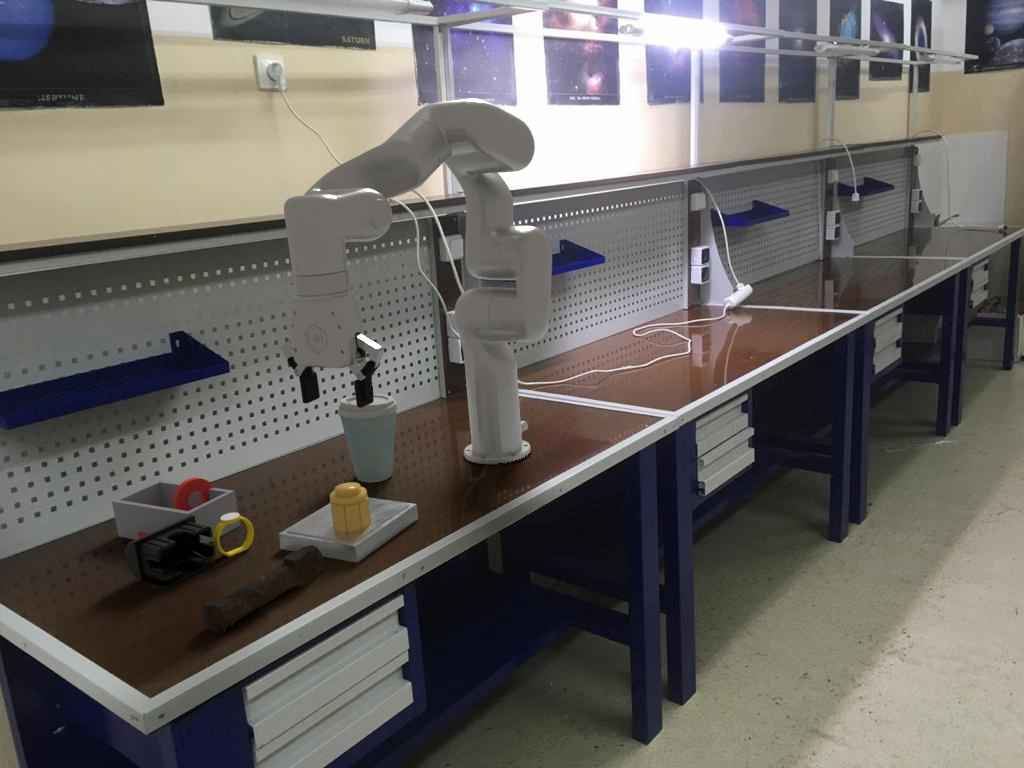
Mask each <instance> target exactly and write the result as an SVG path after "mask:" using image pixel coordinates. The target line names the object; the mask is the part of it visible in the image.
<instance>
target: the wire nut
mask: <svg viewBox="0 0 1024 768" xmlns="http://www.w3.org/2000/svg"><path fill="white" fill-rule="evenodd" d="M368 498H369V496H368V491H367V488H365V487H363V486H361V484H360V483H358V482H353V481H352V482H351V481H350V482H345V483H340V484H337V485H336V486H335V487H334V490H332V492H330V493H329V503H330V505H331V513H332V520H333V526H334V529H335V530H336V531H342V532H347V531H348V532H351V531H357V530H362V529H364V528H365V527H367V526H368V525H370V524H371V518H370V509H369V501H368Z"/></svg>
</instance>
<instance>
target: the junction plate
mask: <svg viewBox="0 0 1024 768" xmlns="http://www.w3.org/2000/svg"><path fill="white" fill-rule="evenodd" d="M368 501H369V509H370V518H371V524H370V525H368V526H367V527H365V528H364V529H362V530H357V531H351V532H348V531H347V532H342V531H336V530H335V529H334V526H333V520H332V513H331V505H330V502H328V504H326V505H325V506H323V507H321V508H320V509H317V510H316V511H314V512H313V513H311V514H309V515H307V516H306V517H305V518H303V519H301V520H300V521H297V522H296V523H294V524H293V525H291V526H289V527H287V528H286V529H284V530H283V531H280V532H279V533H278V538H279V545H280V550H284V551H290V552H295V551H297V550H300V549H301V548H302V547H305V546H310V545H314V546H316V547H318V549H319V550H320V552H321V554H322V555H323V558H329V559H335V560H339V561H344V562H350V563H357V564H358V563H359V562H361V561H362V560H363V559H365V558H366V557H368V556H369V555H371V554H372V553H373V552H374V551H376V550H377V549H379V548H380V547H381V546H383V545H384V544H386V543H387V542H389V541H390V540H391V539H392V538H394V537H395V536H396V535H398V534H399V533H401V532H403V530H405V529H407V528H408V527H409V526H411V525H412V524H413V523H414V522H416V521H417V520H419V515H418V514H419V513H418V505H417V503H411V502H405V501H404V502H403V501H397V500H390V499H389V500H388V499H380V498H375V497H368Z"/></svg>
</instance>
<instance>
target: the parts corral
mask: <svg viewBox="0 0 1024 768" xmlns="http://www.w3.org/2000/svg"><path fill="white" fill-rule="evenodd" d="M181 483H182V482H176V481H168V480H162V479H161V480H160V479H159V480H157V481H155V482H153V483H150V484H148V485H145V486H144V487H141V488H140V489H137V490H134V491H132V492H130V493H128V494H125V495H123V496H121V497H118V498H116V499H114V500H112V501H111V504H112V509H113V514H114V519H115V525H116V529H117V533H118V537H120V538H126V539H131V540H136V539H138V538H139V537H138V532H142V533H148V534H149V533H151V532H154V531H156V530H158V529H160V528H163V527H165V526H167V525H169V524H172V523H174V522H176V521H178V520H181V519H183V518H185V517H187V516H195V521H196V523H197V524H201V525H205V526H209V527H211V530H212V537H206V536H203V535H200V538H201V540H202V541H203V542H206V543H210V544H211V542H213V534H214V531H215V528H216V527H217V525H218V524H219V523H220V522H221V519H220V518H221V517H222V516H223V515H225V514H228V513H239V511H238V506H237V503H238V502H237V498H236V492H235V490H231V489H223V488H220V487H219V488H218V487H214V488H210V489H208V491H209V497H210V501H208V502H206V503H204V504H202V505H200V506H198V507H196V508H194V509H192V510H190V511H183V510H177V509H174V507H173V497H174V493H175V491H176V489H177V488H178V486H179V485H180V484H181ZM201 499H202V495H201V493H200V491H195V492H193V493H192V494H191V495H190V497H189V499H188V503H189V506H190V507H195V506H197V505H198V504H199V503H200V502H201ZM240 526H241V523H240V520H239V521H238V522H236V523H233V524H227V525H226V526H225V527H224V528H223V529H222V532H221V535H220V537H219V538H221V537H222V536H224V535H226V534H228V533H229V532H231V531H233V530H235V529H237V528H238V527H240Z"/></svg>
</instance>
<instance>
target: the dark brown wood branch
mask: <svg viewBox="0 0 1024 768" xmlns="http://www.w3.org/2000/svg"><path fill="white" fill-rule="evenodd" d="M324 569H325V561H324V557H323V555H322V554H321V552H320V550H319V549H318V547H316V546H314V545H310V546H305V547H302V548H301V549H300V550H297V551H295V552H294V551H291V552H290V553H288V554H287V555H285V556H284V557H283V563H282V564H280V565H279V566H277V567H275V568H274V569H272V570H270V571H268V572H267V573H264V574H263V575H262V576H260V577H258V578H255V579H254V580H252V581H251V582H249V583H247V584H245V585H243V586H242V587H239V588H236V590H234V591H232V592H230V593H229V594H227V595H224V596H223V597H221V598H219V599H217V600H216V601H214V602H209V603H205V604H203V605H202V610H201V611H202V616H203V621H204V624H205V626H206V627H207V629H208V630H209V631H212V632H214V633H217V634H224V633H225V632H226V630H227V629H228V628H233V627H235V625H236V622H238V621H239V620H241V619H243V618H244V617H246V616H248V615H249V614H250V613H253V612H254V611H256V610H257V609H260V607H263V606H265V605H267V604H268V603H270V602H271V601H272V600H275V599H276V598H278V597H279V596H281V595H283V594H284V593H286V592H288V591H289V590H291V589H300V588H303V587H305V586H306V585H308V584H309V583H310V582H312V581H313V580H314V579H315V578H316V577H317V576H319V574H320V573H321V572H322V571H323V570H324Z"/></svg>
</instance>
